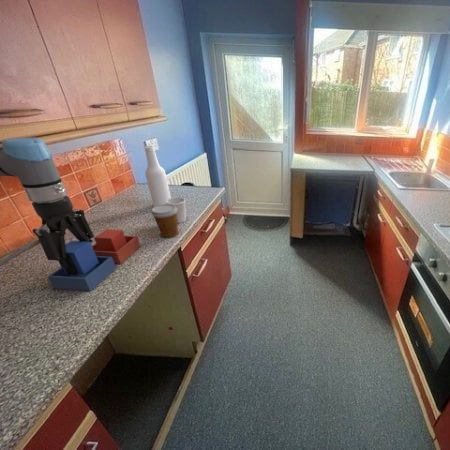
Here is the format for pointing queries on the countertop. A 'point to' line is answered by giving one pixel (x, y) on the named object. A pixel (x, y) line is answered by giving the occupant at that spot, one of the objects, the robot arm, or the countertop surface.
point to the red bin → (120, 250)
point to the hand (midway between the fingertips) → (82, 267)
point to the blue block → (81, 255)
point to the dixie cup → (178, 207)
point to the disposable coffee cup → (166, 219)
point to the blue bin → (83, 276)
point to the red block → (110, 240)
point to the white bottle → (156, 178)
